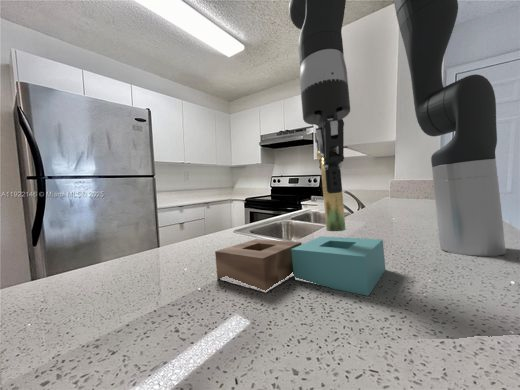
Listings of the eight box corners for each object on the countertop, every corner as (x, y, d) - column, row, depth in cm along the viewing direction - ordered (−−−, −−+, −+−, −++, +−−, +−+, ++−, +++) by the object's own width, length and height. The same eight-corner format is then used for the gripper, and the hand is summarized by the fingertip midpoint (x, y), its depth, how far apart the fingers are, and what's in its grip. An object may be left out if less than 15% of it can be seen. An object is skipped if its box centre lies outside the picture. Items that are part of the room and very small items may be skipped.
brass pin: (329, 227, 38) (322, 154, 38) (352, 228, 35) (345, 150, 36) (319, 231, 35) (312, 152, 35) (343, 232, 32) (336, 147, 33)
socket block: (323, 261, 43) (320, 236, 43) (385, 269, 36) (382, 239, 36) (294, 280, 34) (291, 249, 35) (368, 295, 27) (364, 256, 27)
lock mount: (258, 262, 46) (256, 238, 46) (303, 269, 39) (301, 242, 39) (217, 279, 38) (215, 251, 38) (265, 293, 30) (262, 258, 31)
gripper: (359, 58, 28) (371, 190, 28) (339, 104, 42) (347, 192, 42) (301, 69, 29) (311, 194, 29) (300, 110, 43) (307, 195, 43)
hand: (332, 192), depth 35 cm, fingers closed on brass pin, 3 cm apart
